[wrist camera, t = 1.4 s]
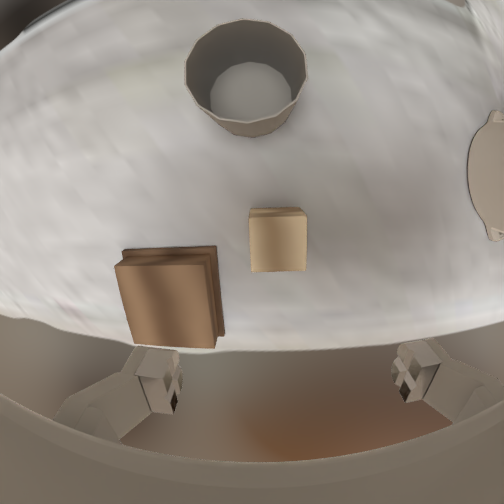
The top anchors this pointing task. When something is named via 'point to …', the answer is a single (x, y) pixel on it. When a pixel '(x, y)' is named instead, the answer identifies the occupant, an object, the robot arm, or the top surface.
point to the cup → (246, 75)
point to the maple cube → (278, 239)
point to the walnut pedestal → (172, 296)
